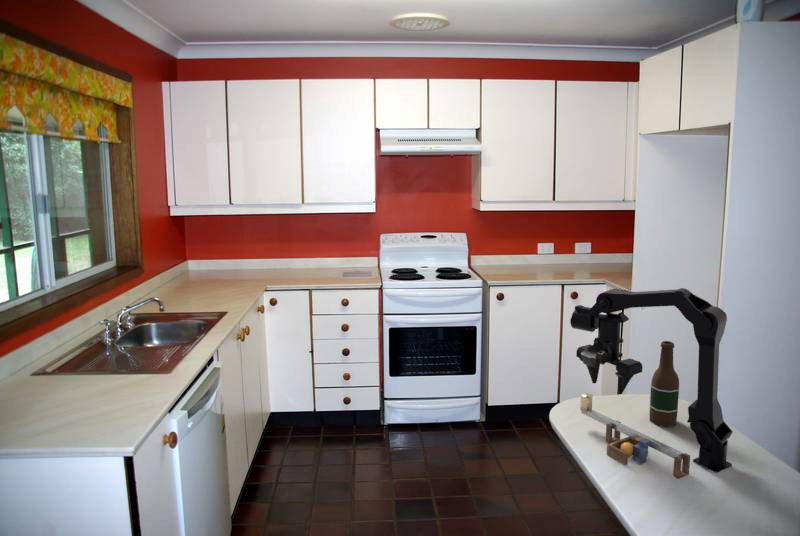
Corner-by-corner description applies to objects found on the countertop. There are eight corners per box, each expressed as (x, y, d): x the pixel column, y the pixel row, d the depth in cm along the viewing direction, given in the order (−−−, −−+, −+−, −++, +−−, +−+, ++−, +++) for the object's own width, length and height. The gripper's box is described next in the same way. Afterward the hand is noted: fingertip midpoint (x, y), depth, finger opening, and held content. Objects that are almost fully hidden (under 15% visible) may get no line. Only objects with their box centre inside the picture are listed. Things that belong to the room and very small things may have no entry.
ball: (639, 445, 151) (636, 457, 153) (628, 437, 154) (625, 449, 156) (629, 449, 150) (626, 461, 151) (618, 441, 153) (616, 452, 154)
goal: (628, 446, 157) (629, 436, 157) (647, 456, 152) (648, 445, 152) (606, 455, 154) (607, 444, 153) (625, 465, 148) (626, 454, 148)
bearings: (616, 437, 163) (616, 420, 162) (689, 474, 144) (690, 455, 143) (605, 441, 161) (606, 424, 160) (678, 479, 142) (679, 459, 141)
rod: (585, 421, 172) (586, 392, 170) (684, 471, 144) (686, 436, 142) (569, 426, 169) (570, 397, 167) (667, 478, 141) (669, 443, 140)
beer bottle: (672, 415, 175) (676, 338, 170) (681, 427, 167) (687, 346, 163) (645, 415, 176) (649, 338, 171) (653, 427, 168) (657, 346, 163)
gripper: (562, 331, 166) (561, 383, 169) (615, 349, 150) (612, 407, 153) (591, 325, 171) (589, 375, 174) (645, 341, 155) (642, 397, 158)
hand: (606, 388), depth 165 cm, fingers open, 9 cm apart
